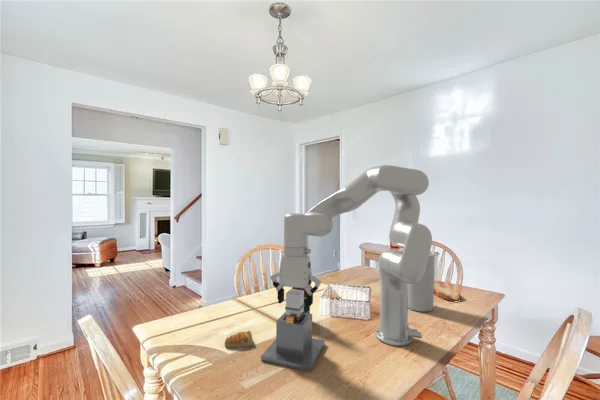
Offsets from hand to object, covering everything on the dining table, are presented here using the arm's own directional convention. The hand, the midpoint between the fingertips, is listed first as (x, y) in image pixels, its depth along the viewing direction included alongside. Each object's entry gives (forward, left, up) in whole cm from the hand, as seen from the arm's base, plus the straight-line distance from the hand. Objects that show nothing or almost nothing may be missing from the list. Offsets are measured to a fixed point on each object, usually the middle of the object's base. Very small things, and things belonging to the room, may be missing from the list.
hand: (294, 304), depth 92 cm
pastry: (+19, +1, -16) cm, 25 cm away
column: (0, 0, -14) cm, 14 cm away
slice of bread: (-53, -79, -16) cm, 96 cm away
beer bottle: (+6, -22, -16) cm, 28 cm away
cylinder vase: (-40, -56, -16) cm, 71 cm away
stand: (0, 0, -16) cm, 16 cm away
